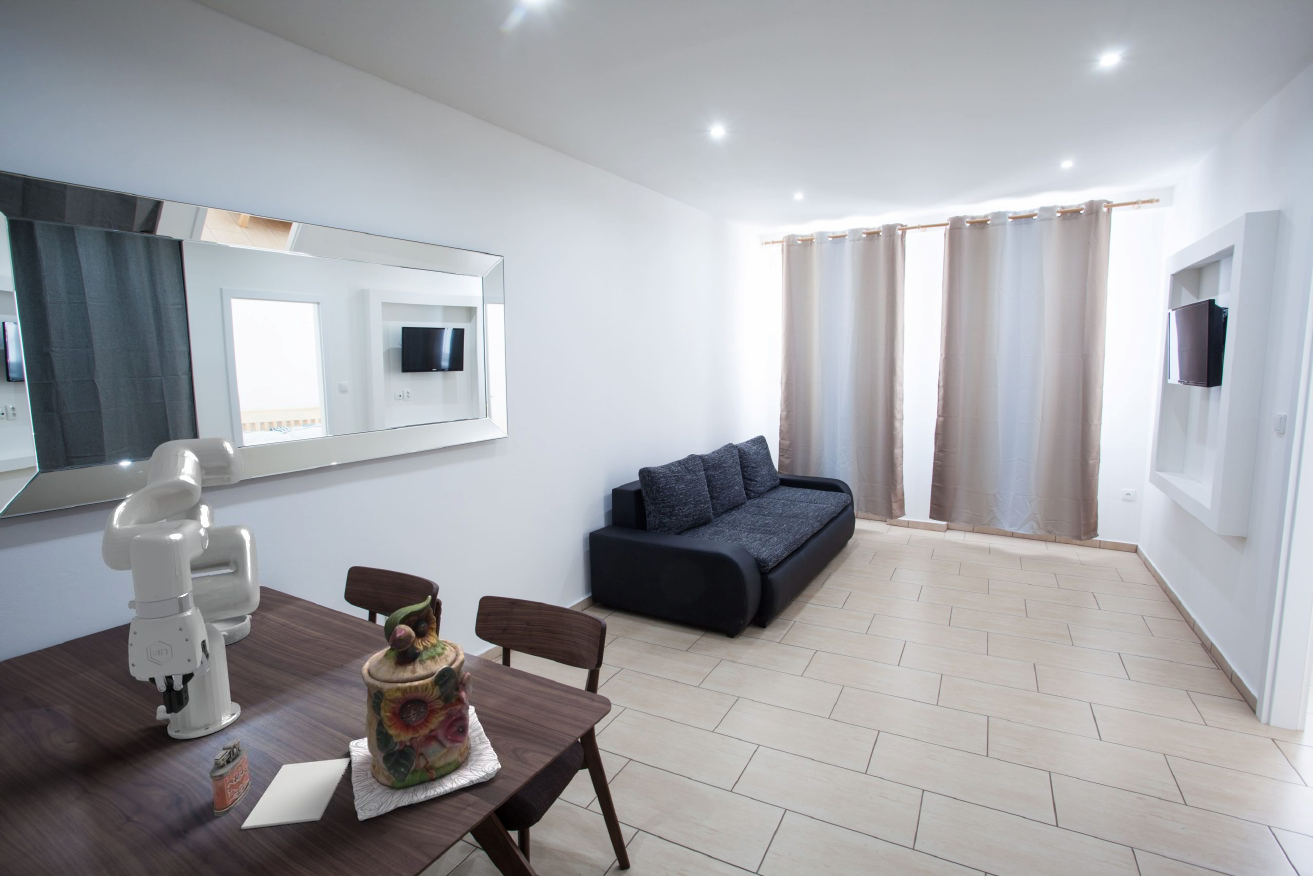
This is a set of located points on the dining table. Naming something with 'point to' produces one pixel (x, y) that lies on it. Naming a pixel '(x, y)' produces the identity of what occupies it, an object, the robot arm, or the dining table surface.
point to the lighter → (230, 777)
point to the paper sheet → (298, 793)
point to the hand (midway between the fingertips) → (177, 709)
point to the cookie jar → (417, 720)
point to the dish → (233, 628)
